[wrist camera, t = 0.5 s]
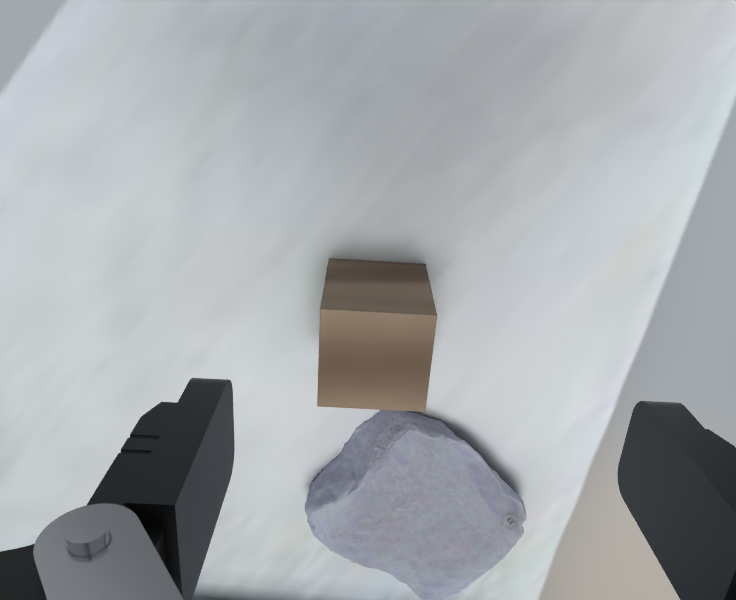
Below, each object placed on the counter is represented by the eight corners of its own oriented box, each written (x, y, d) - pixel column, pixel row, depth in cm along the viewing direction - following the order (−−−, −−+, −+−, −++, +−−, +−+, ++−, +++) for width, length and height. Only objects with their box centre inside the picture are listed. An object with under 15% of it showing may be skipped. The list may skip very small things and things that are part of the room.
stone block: (388, 372, 36) (292, 495, 38) (405, 409, 32) (295, 547, 33) (528, 464, 40) (434, 572, 41) (561, 509, 35) (455, 629, 37)
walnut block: (328, 258, 31) (320, 309, 26) (425, 263, 31) (437, 315, 26) (325, 342, 33) (317, 406, 28) (416, 347, 33) (425, 411, 28)
